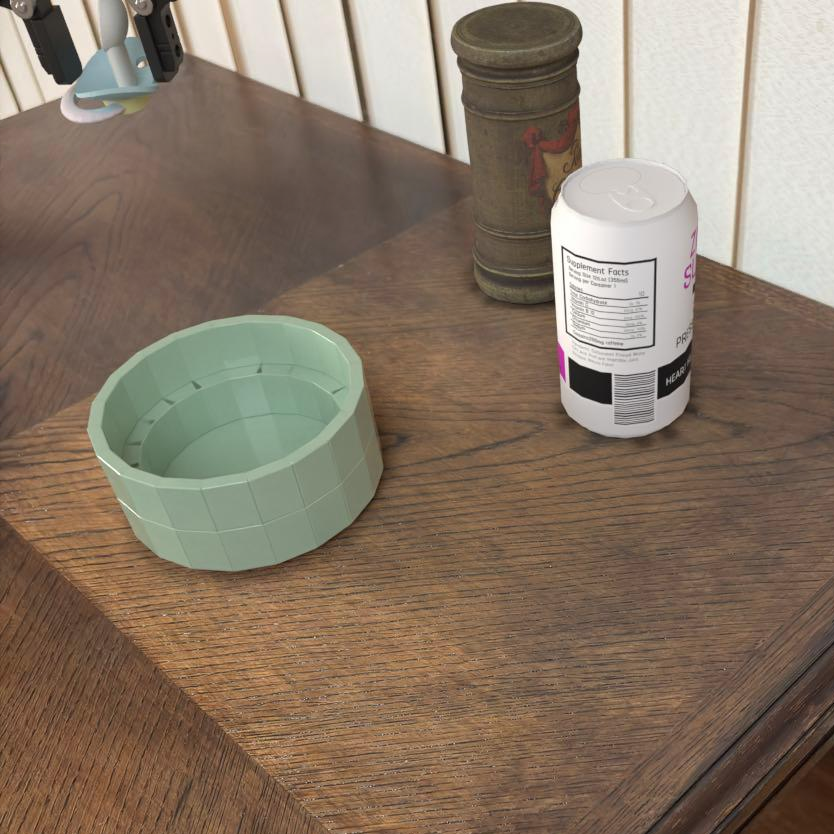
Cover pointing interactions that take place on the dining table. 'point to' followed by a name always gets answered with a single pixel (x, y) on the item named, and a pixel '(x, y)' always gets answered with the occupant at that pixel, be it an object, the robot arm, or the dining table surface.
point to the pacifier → (111, 72)
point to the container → (518, 138)
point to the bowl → (239, 441)
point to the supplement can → (624, 294)
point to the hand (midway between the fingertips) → (118, 77)
